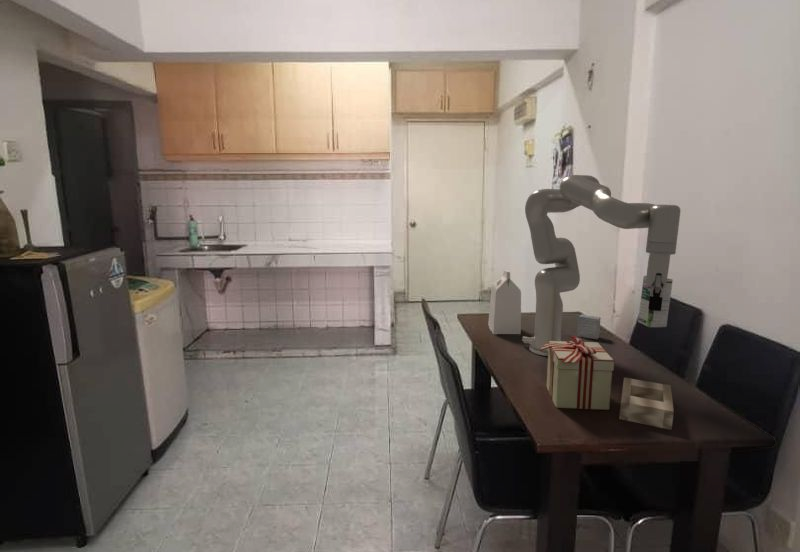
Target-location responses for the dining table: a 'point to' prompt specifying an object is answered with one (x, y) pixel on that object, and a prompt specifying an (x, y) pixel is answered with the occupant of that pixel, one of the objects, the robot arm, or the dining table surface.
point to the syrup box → (651, 316)
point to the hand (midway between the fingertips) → (654, 306)
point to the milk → (505, 306)
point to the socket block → (647, 403)
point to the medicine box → (588, 326)
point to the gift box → (579, 374)
